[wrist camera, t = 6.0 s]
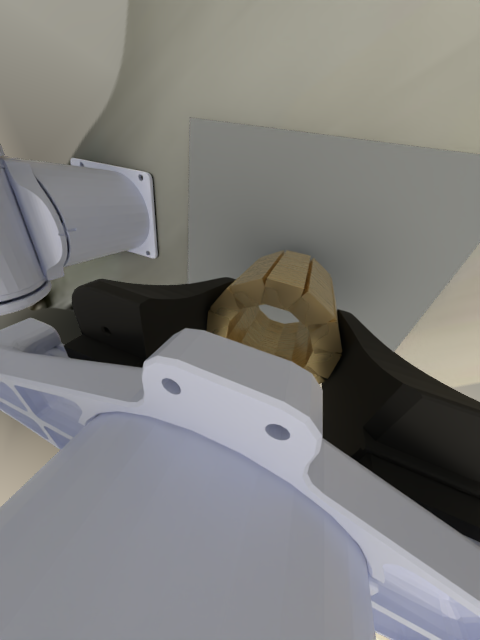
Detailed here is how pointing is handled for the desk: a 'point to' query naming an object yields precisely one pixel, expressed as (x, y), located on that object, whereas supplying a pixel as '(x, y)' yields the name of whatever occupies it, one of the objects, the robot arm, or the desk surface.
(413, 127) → the desk surface
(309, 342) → the wooden link ring
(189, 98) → the desk surface
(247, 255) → the grey square plate
